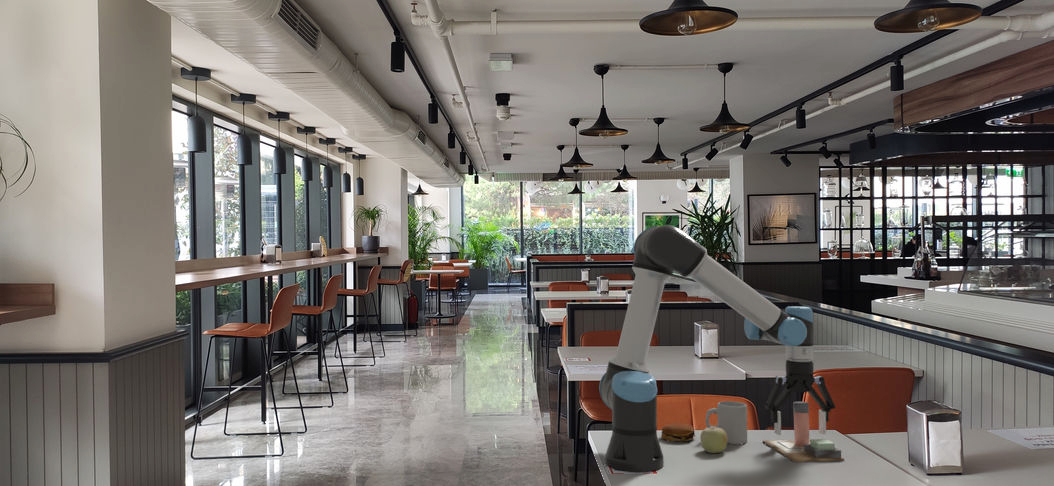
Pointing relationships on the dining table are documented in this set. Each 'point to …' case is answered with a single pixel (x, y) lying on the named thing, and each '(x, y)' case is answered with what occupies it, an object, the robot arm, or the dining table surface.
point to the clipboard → (803, 451)
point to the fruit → (714, 439)
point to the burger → (677, 432)
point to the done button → (822, 444)
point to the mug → (731, 420)
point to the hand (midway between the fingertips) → (800, 433)
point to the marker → (801, 423)
